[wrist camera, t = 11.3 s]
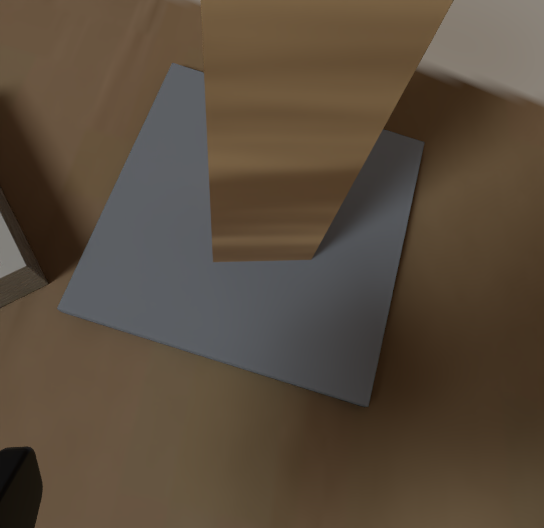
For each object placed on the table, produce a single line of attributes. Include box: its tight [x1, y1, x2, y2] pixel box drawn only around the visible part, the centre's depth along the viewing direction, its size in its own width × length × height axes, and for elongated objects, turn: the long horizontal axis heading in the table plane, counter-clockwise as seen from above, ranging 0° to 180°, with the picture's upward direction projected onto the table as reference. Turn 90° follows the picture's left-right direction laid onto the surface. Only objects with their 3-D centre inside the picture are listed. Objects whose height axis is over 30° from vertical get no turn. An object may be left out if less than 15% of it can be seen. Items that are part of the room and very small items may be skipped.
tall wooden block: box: [201, 0, 454, 262], centre depth 12 cm, size 4×4×13 cm
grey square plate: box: [57, 63, 424, 407], centre depth 18 cm, size 11×11×1 cm
